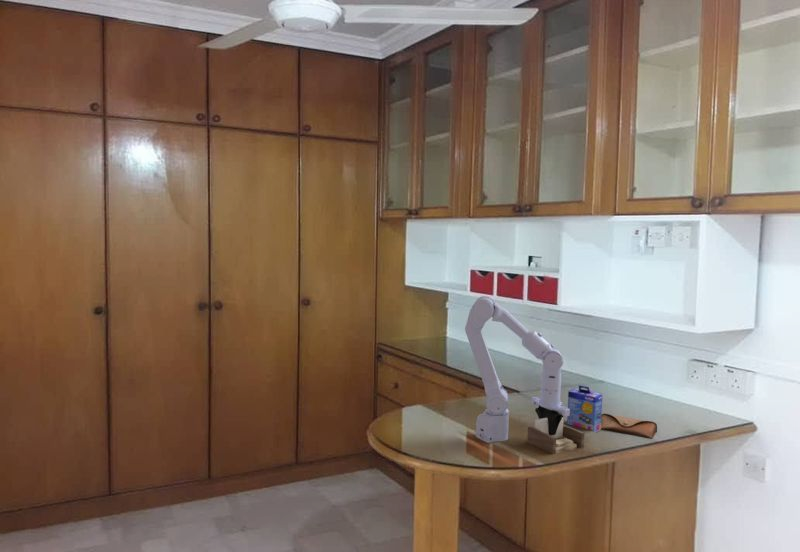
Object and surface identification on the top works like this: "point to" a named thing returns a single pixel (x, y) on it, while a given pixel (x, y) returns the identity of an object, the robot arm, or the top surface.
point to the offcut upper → (563, 442)
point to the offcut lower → (566, 447)
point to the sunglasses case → (628, 426)
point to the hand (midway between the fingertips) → (548, 433)
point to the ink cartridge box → (585, 409)
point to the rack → (549, 441)
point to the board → (543, 427)
